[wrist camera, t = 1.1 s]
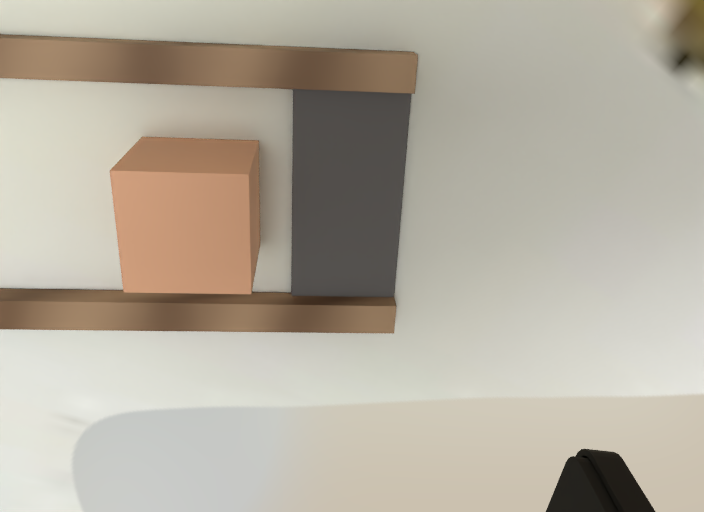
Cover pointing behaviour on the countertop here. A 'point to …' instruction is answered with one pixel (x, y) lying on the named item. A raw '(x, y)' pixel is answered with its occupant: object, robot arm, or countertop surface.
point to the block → (188, 215)
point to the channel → (307, 183)
